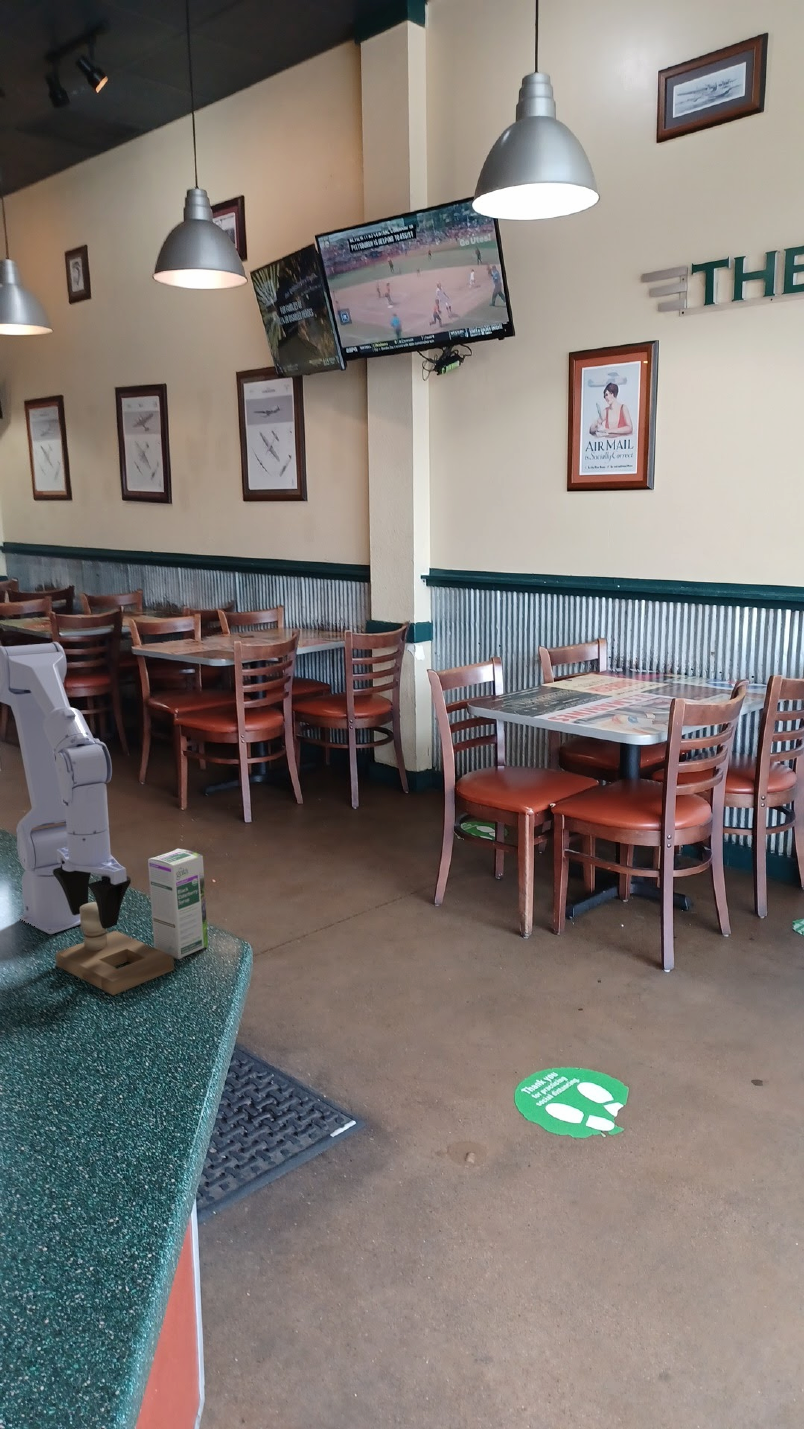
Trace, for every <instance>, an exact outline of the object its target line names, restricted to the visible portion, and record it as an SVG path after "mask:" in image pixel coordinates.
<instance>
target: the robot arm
mask: <svg viewBox="0 0 804 1429" xmlns="http://www.w3.org/2000/svg"><path fill="white" fill-rule="evenodd" d="M66 657H67V656H66V653H65V650H64V648H63V646H62V645H61V644H60V643H59V642H58V641H52V642H50V643H48V642H47V643H40V644H27V645H26V644H25V645H13V646H10V645H9V646H2V645H0V703H2V704H6V705H8V706H10V707H11V711H12V714H13V716H14V720H15V725H16V732H17V736H18V741H19V746H20V752H21V759H22V763H23V768H24V774H25V779H26V784H27V790H28V791H27V792H28V795H29V800H30V806H31V809H30V810H29V811H28V812H27V813H26V814H25V815H24V816H23V817H22V818H21V819H20V820H19V822H18V823H17V825H16V829H15V830H16V836H17V840H16V841H17V842H16V843H17V844H16V845H17V846H16V847H17V855H18V856H17V857H18V859H19V862H20V864H21V867H22V868H23V869H24V872H23V874H22V877H21V890H22V902H23V914H22V915H20V916H18V919H19V920H20V919H21V920H20V921H22V920H23V921H22V922H24V921H25V922H24V923H26V924H28V923H29V924H28V925H30V924H31V925H30V926H32V927H34V926H35V927H34V928H36V929H38V930H40V931H42V932H45V933H47V934H48V935H53V934H55V933H56V934H57V933H58V932H59V933H60V932H62V931H64V930H68V929H70V928H73V927H77V926H79V925H81V921H80V907H81V906H82V905H84V904H87V903H89V890H90V891H91V893H92V895H93V897H94V900H95V902H96V903H97V907H98V912H99V918H100V923H101V926H102V928H104V929H107V930H108V929H110V928H111V927H115V926H117V925H118V922H119V917H120V912H121V906H122V903H123V900H124V897H125V895H126V893H127V890H128V888H129V886H130V885H131V883H132V881H131V880H132V879H131V877H130V876H127V868H126V867H124V866H122V865H121V864H120V863H119V862H118V861H117V860H116V858H115V857H114V856H113V855H112V854H111V838H110V836H111V835H110V827H109V826H110V824H109V821H110V820H109V808H108V807H109V806H108V792H107V790H108V789H107V784H106V783H109V782H111V779H112V776H113V775H112V774H113V766H112V759H111V755H110V752H109V750H108V747H107V745H106V743H104V742H103V741H100V739H99V738H94V736H93V734H92V732H91V730H90V728H89V726H88V724H87V721H86V720H85V717H84V716H83V713H82V712H81V711H80V710H79V709H78V708H74V707H71V705H70V702H69V699H68V695H67V693H66V689H65V688H64V684H63V683H64V682H65V678H66V675H67V669H68V668H67V667H68V666H67V664H68V663H67V658H66ZM56 824H61V825H56ZM51 825H56V826H51ZM45 826H48V827H45ZM49 826H50V827H49ZM40 827H44V828H40ZM35 828H37V829H35ZM38 828H39V829H38ZM33 829H34V830H33ZM93 874H94V875H96V876H99V877H101V879H100V880H97V881H94V882H93V881H92V882H90V880H91V875H93Z"/></svg>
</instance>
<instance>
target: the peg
mask: <svg viewBox="0 0 804 1429" xmlns="http://www.w3.org/2000/svg"><path fill="white" fill-rule="evenodd" d="M80 921H81V924H80V930H81V931H82V935H83V942H84V947H85V949H86V950H89V951H97V950H101V949H104V948H106V947H107V945H108V943H107V934H108V928H107V929H104V928H102V926H101V923H100V918H99V912H98V907H97V903H96V901H93V902H92V901H91V902H88V903H87V904H84V905H82V906H81V907H80Z"/></svg>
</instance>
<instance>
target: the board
mask: <svg viewBox="0 0 804 1429" xmlns="http://www.w3.org/2000/svg"><path fill="white" fill-rule="evenodd" d="M107 943H108V945H107V947H106V948H104V949H101V950H97V951H89V950H86V949H85V947H84V941H83V942H81V943H79V944H75V945H72V946H70V947H67V948H64V949H61V950H59V951H56V952H55V964H56V965H55V966H57V967H58V968H59V969H62V970H64V971H65V972H68V973H70V974H72V975H74V976H75V977H77V978H79V979H81V980H83V981H85V982H87V983H89V984H91V985H93V986H94V987H96V988H98V989H100V990H102V991H104V992H106V993H108V994H110V995H112V996H115V995H118V994H120V993H123V992H125V991H127V990H130V989H132V988H135V987H136V986H139V985H141V984H144V983H146V982H149V981H151V980H153V979H156V978H158V977H160V976H163V975H165V974H168V973H170V972H172V971H174V970H175V962H174V959H175V958H174V957H173V956H171V955H169V954H167V953H164V952H162V951H160V950H158V949H155V948H154V946H151V945H148V944H146V943H144V942H142V941H140V940H138V939H136V938H133V937H131V936H129V935H126V934H124V933H122V932H120V931H117V930H114V931H111V932H107ZM125 963H129V964H127V965H124V966H122V967H119V968H118V966H120V965H122V964H125Z"/></svg>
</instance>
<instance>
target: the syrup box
mask: <svg viewBox="0 0 804 1429" xmlns="http://www.w3.org/2000/svg"><path fill="white" fill-rule="evenodd" d="M147 866H148V867H147V868H148V880H149V881H148V882H149V893H150V894H149V895H150V905H151V906H150V908H151V920H152V933H153V948H155V949H158V950H160V951H162V952H164V953H167V954H169V955H171V956H173V957H174V959H177V960H182V959H183V958H184V957H186V956H189V955H190V954H193V953H195V952H197V951H199V950H200V951H201V950H203V949H206V948H208V946H209V936H208V922H207V920H208V919H207V907H206V888H205V872H204V856H203V855H202V854H200V853H197V852H196V851H195V852H194V851H192V850H188V849H183V848H176V849H174V850H172V851H169V852H166V853H162V854H161V855H157V856H155V857H150V858H148V859H147Z"/></svg>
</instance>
